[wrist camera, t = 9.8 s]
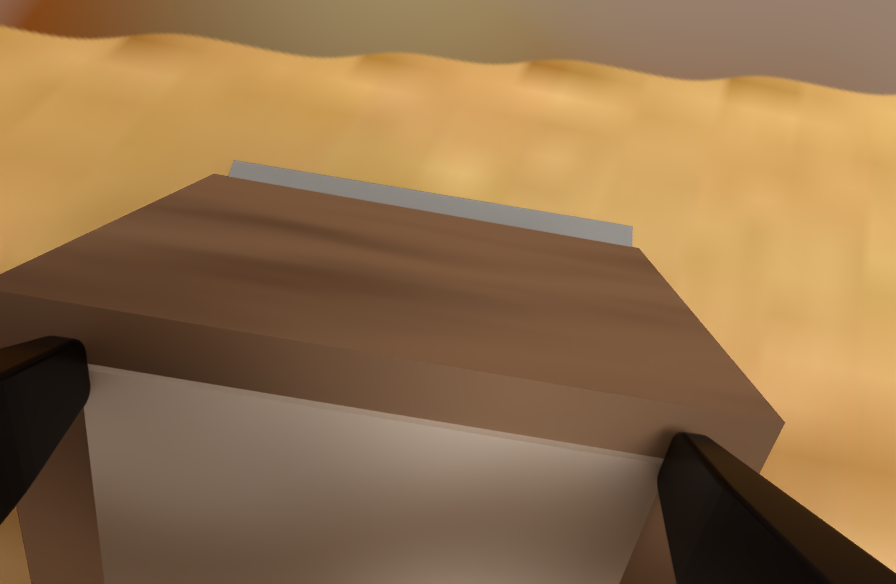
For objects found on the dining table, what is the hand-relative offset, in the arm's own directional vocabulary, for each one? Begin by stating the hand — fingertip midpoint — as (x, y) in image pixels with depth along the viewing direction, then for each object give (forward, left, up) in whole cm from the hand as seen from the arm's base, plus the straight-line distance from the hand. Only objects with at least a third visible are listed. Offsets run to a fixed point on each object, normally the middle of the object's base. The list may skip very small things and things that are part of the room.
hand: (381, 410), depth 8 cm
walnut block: (-1, -2, -2) cm, 3 cm away
